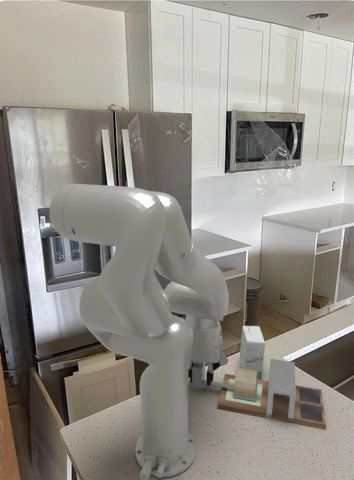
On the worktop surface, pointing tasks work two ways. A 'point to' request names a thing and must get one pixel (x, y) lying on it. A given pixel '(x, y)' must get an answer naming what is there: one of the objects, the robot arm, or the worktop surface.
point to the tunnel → (281, 384)
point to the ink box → (252, 349)
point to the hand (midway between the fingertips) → (200, 380)
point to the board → (277, 404)
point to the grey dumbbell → (242, 388)
